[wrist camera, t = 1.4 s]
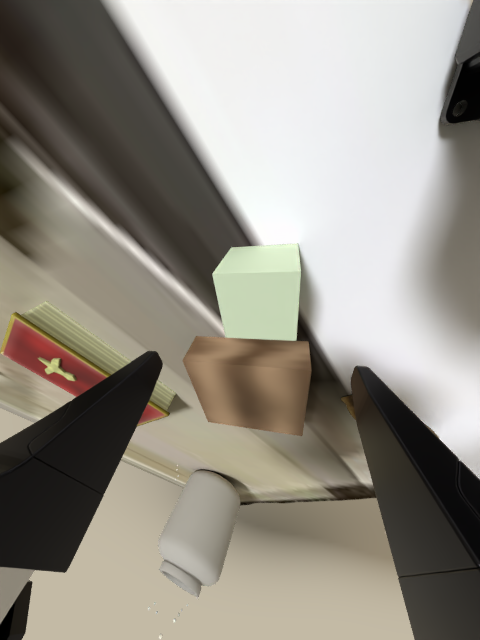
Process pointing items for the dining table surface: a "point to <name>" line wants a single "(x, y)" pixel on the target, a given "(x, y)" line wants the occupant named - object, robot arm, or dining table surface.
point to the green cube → (259, 292)
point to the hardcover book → (70, 355)
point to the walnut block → (251, 381)
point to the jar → (199, 532)
